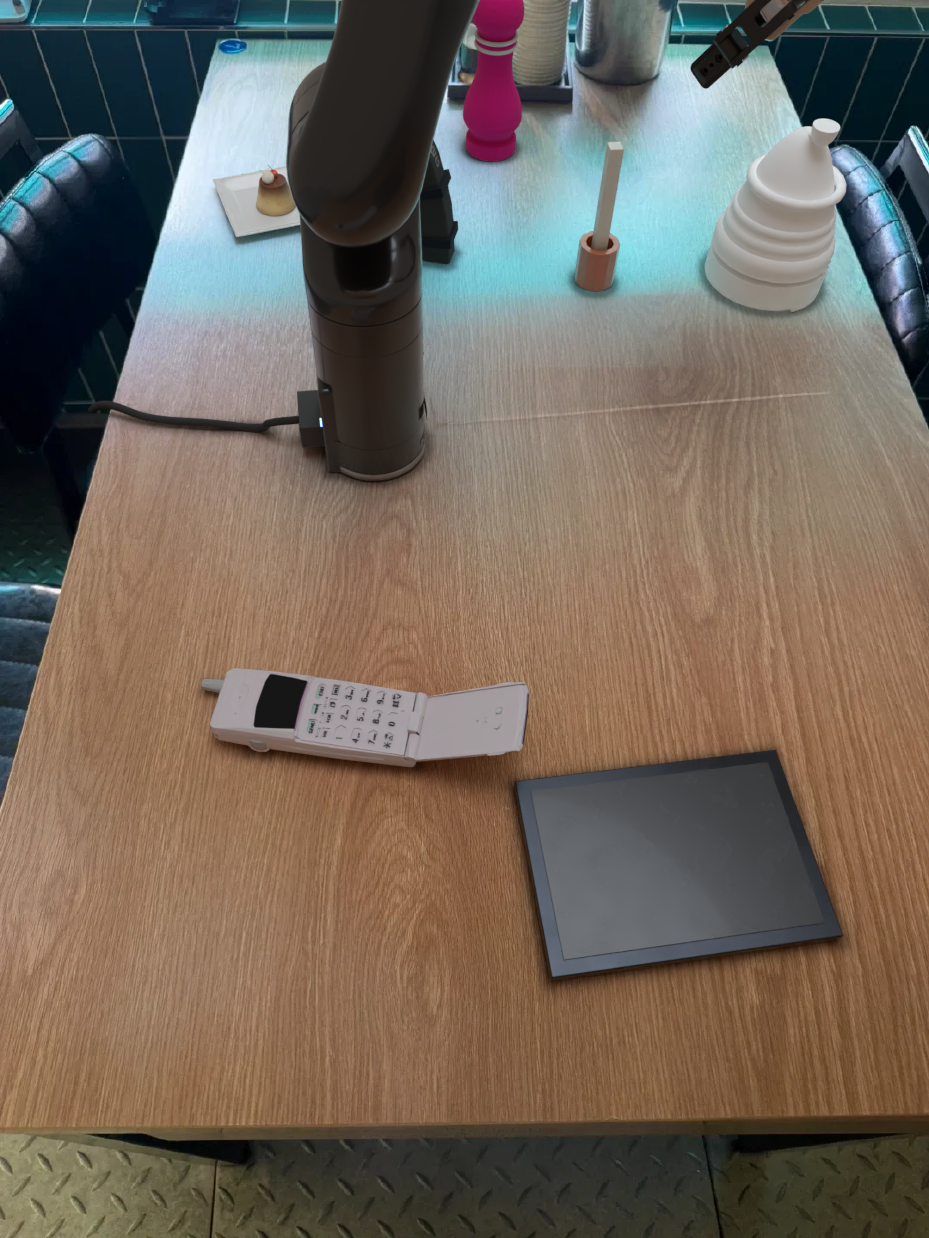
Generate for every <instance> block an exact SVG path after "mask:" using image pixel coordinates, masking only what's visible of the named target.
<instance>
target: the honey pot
mask: <svg viewBox="0 0 929 1238" xmlns="http://www.w3.org/2000/svg"><path fill="white" fill-rule="evenodd" d="M840 131H841V125H840V123H838V122H837V121H835V120H833V119H830V118H824V117H823V118H817V119H815V120H813V122H812V125H811V126H810V125H809V126H808V125H807V126H806V125H805V126H802V127H801V126H800V127H798V128H796V129H794V130H792V131H791V132H789V133H787V134H786V135H785V136H783V137H782V138H781V139H780V140H779V141H777V142H776V144H775V145H773V146H772V148H770V149H769V151H768V152H767V153H765V154H763V155H760V156H759V157H757V158H756V159H754V160H753V161H752V162H751V164H750V165H749V166H748V167H747V171H746V177H745V178H746V180H745V181H744V183H743V184H742V185H741V186H740V187H739V188H738V189H737V190H736V192H735V193H734V194H733V197H732V199H731V200H730V202H729V203H728V204H727V206H726V208H725V210H723V212H722V213H721V214H720V215H719V217H718V219H717V221H716V222H715V225H714V230H713V232H712V237H711V239H710V244H709V247H708V250H707V255H706V258H705V263H704V266H703V268H704V273H705V277H706V279H707V280H708V282H709V284H710V285H711V287H712V288H714V290H716V291H717V292H718V293H719V294H720V295H722V296H723V297H725V298H727V299H728V300H730V301H732V302H733V303H736V304H739V305H741V306H744V307H746V308H750V309H755V310H761V311H771V312H772V311H773V312H781V311H790V313H794V312H797V311H800V310H802V309H805V308H806V307H808V306H809V305H810V304H812V303H813V302H815V299H816V298H817V296H818V294H820V290H821V289H822V285H823V282H824V280H825V277H826V276H827V273H828V270H829V266H830V264H831V262H832V260H831V259H832V258H833V257H834V255H835V249H836V238H835V233H836V222H837V214H838V213H837V209H836V207H835V206H836V205H837V204H838V203H840V202H841V201H842V200H843V198H844V197H845V195H846V193H847V182H846V179H845V176H844V174H843V173H842V172H841V171H840V170H839V168H838V167H836V166H835V165H834V164H833V159H832V154H831V150H830V147H829V145H830V144H832V142H833V141H834V140H835V139H836V138H837V136H838V134H839V133H840Z"/></svg>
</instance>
